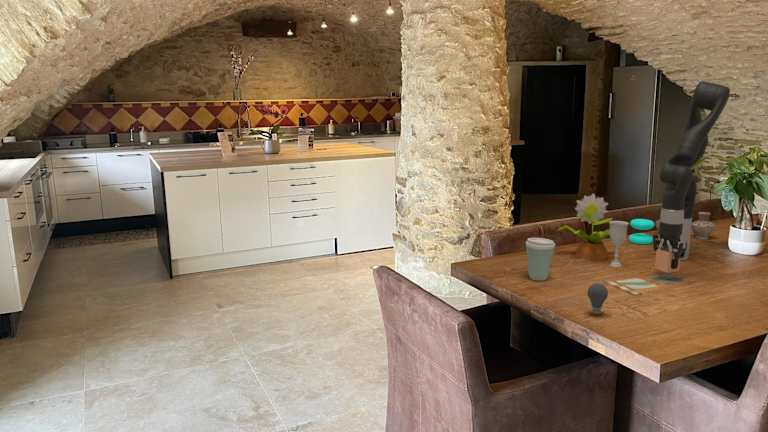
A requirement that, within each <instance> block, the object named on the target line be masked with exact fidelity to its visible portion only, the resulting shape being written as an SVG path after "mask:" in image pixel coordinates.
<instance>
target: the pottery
mask: <svg viewBox="0 0 768 432" xmlns="http://www.w3.org/2000/svg"><path fill="white" fill-rule="evenodd" d="M697 213H698V220H695V221H692V224H691V231H692V232H693V233H694V238H695V239H698V240H703V241H705V240H709V238H710V237H709V236H711V234H713V232H714V231H715V228H716V225H715V224H714V223H713V222H711V221H710V218H711V217H710V216H711V212H706V211H700V212H697ZM654 225H655V227H656V229H657V230H658V232H659V225H660V218H659V219H657V220H656V221H655V222H654Z"/></svg>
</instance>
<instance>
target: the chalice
mask: <svg viewBox="0 0 768 432" xmlns="http://www.w3.org/2000/svg"><path fill="white" fill-rule="evenodd" d="M608 224H609V230H610V232H609V235H608V236H609V237H610V238H609V239H610V240H611V243H612V245H613V246H614V247H615V248H614V253H615V254H614V255H613V256H614V260H613V261H611V262H610V264H609V266H608V267H613V268H622V263H621V262H620V261H619V260H618V258H619V257H620V255H619V253H620V252H619V248H620V247H621V246H622V245H623V243H624V242H625V240H626V238H627V236H628V226H629V225H630V222H628V221H624V220H610V221H608Z"/></svg>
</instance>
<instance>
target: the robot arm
mask: <svg viewBox="0 0 768 432" xmlns="http://www.w3.org/2000/svg"><path fill="white" fill-rule="evenodd" d="M730 94H731V89H730V87H729V86H726V85H722V84H718V83H714V82H710V81H704V80H702V81H700V82H699V83H697V85H696V86H695V89H694V90H693V94H692V97H691V101H690V106H689V109H688V110H689V111H688V115H687V119H686V122H685V125H684V129H683V132H682V134H681V137H680V140H679V143H678V144H677V147H676V149H675V151H674V152H673V153H672V154H671V155H670V157H669V158H668V159H667V160H666V162H664V163H663V165H662V167H661V169H660V171H659V174H658V176H659V179H660V182H661V183H663V184H665V185H664V193H663V195H662V204H661V211H660V214H659V215H660V216H659V217H660V218H659V219H660V225H659V231H658V232H659V234H657V233H656V234H653V235H652V238H653V242H652V244H653V245H652V246H653V251H654V252H656V251H657V250H658V249H661V250H662V249H667V248H668V249H669V252H670V253H672V261H671V269H676V268H677V267H678V260H679V259H680V261H686V260H688V259H689V251H690V244H691V243H690V242H691V233H692V232H691V231H692V227H691V224H692V223H693V213H694V210H695V202H696V196H697V186H698V185H697V181H696V179H695V178H694V173H693V170H692V167H694V165H696V164H697V163H699V161H700V160H701V159H702V158H703V157H704V155H705V153H706V150H707V145H708V143H709V136H708V135H709V133H710V132H711V130H712V129H713V127H714V126H715V124H716V122H717V121H718V119H719V117H720V116H721V114H722V112H723V111H724V109H725V107H726V105H727V103H728V100H729V99H730ZM701 109H703V110H707V111H710V112H709V114H708V115H707V116H706V117H705V118H704V119H703V118H702V112H701V111H702V110H701ZM675 252H676V255H675ZM680 254H681V255H680Z"/></svg>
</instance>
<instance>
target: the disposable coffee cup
mask: <svg viewBox="0 0 768 432" xmlns="http://www.w3.org/2000/svg"><path fill="white" fill-rule="evenodd" d="M525 245H526V246H525V248H526V259H527V268H528V269H527V270H528V276H529V279H530V280H534V281H546V280H547V278H548V277H549V273H550V268H551V265H552V259H553V255H554V252H555V247H556V243H555V242H554V240H553V239H548V238H543V237H528V238H527V240H526V241H525Z"/></svg>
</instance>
